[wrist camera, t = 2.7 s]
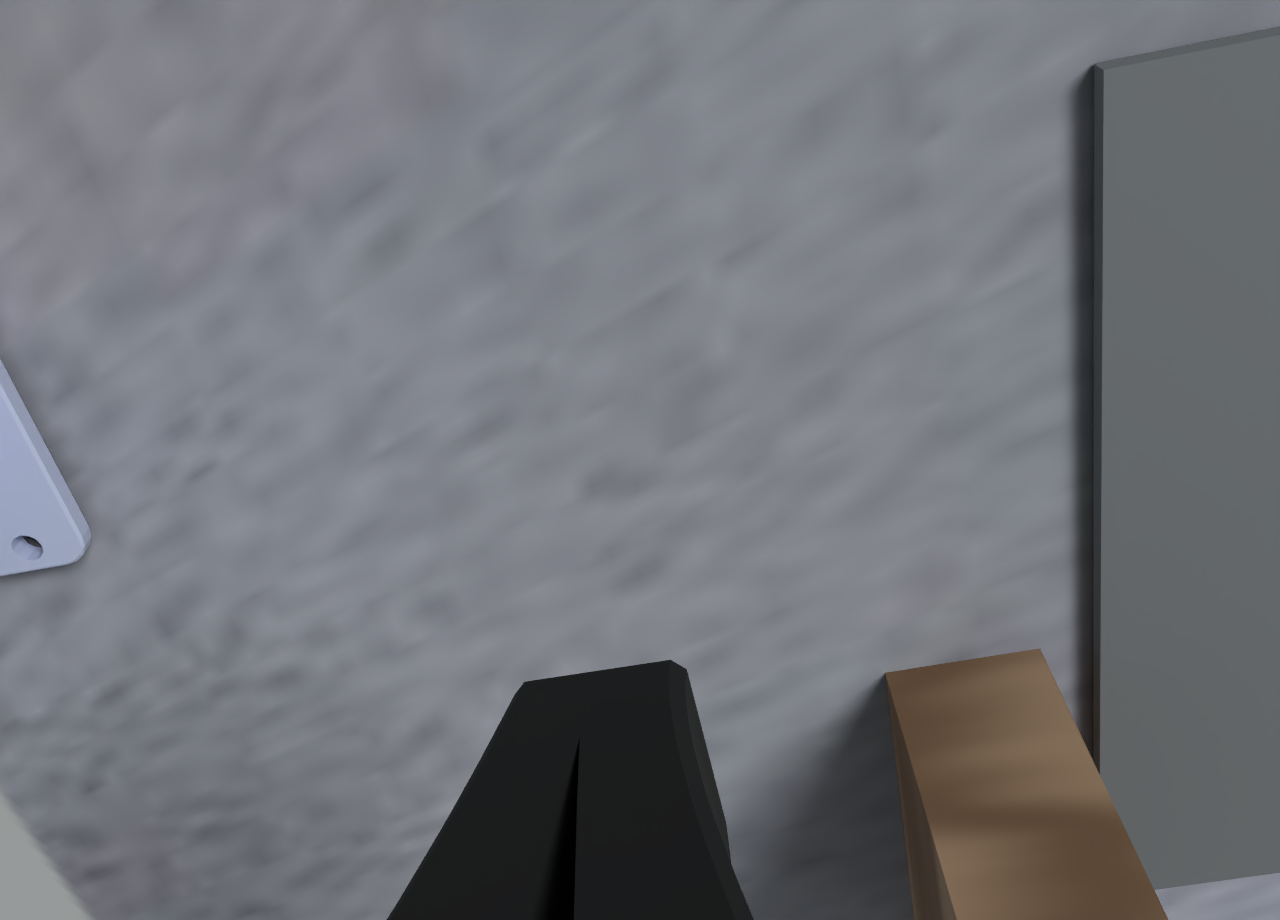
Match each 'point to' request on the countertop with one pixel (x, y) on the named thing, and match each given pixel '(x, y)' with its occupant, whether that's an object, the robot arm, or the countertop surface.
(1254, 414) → the mat
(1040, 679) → the wooden block
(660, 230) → the countertop surface
